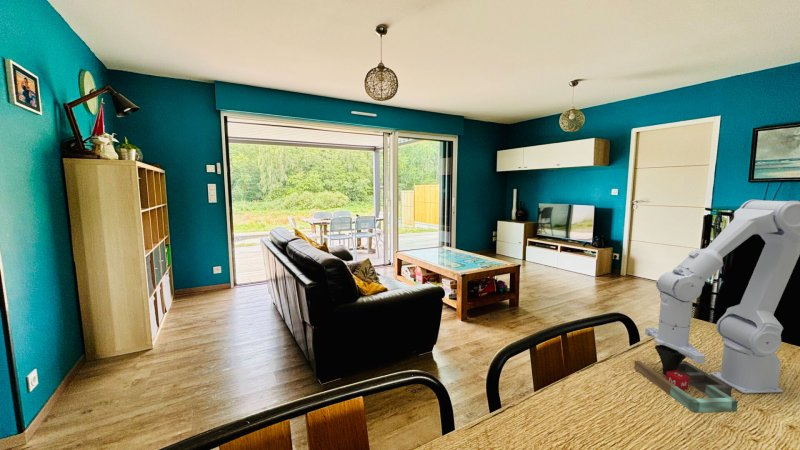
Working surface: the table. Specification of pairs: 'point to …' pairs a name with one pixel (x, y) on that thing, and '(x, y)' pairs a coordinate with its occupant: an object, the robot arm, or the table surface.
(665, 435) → the table surface
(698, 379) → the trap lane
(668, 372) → the red letter block
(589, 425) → the table surface
